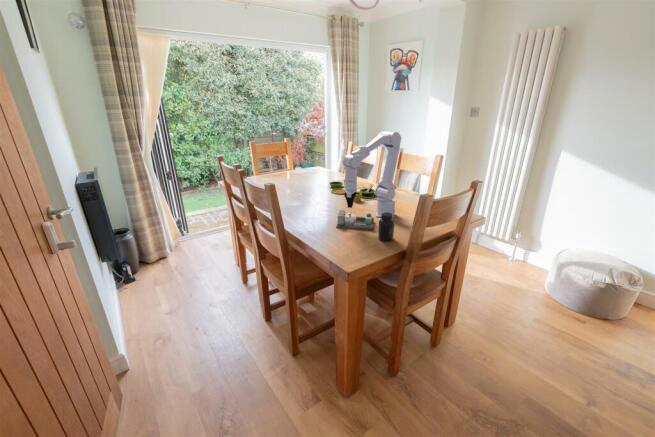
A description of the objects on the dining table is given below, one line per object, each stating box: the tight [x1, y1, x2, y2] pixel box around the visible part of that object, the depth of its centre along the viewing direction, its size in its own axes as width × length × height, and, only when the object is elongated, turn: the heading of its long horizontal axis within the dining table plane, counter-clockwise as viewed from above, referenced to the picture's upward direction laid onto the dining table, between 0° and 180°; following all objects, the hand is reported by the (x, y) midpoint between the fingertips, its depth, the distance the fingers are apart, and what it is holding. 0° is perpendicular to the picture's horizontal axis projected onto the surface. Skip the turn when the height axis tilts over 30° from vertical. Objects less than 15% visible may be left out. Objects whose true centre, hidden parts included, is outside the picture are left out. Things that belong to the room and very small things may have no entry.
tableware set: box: [328, 178, 378, 203], centre depth 200 cm, size 41×28×6 cm
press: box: [335, 209, 375, 231], centre depth 148 cm, size 18×11×6 cm, turn 80°
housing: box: [345, 212, 355, 225], centre depth 149 cm, size 4×4×5 cm
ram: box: [364, 212, 373, 224], centre depth 147 cm, size 3×7×5 cm, turn 170°
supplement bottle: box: [377, 212, 395, 243], centre depth 132 cm, size 7×7×12 cm
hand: (350, 206), depth 146 cm, fingers closed
